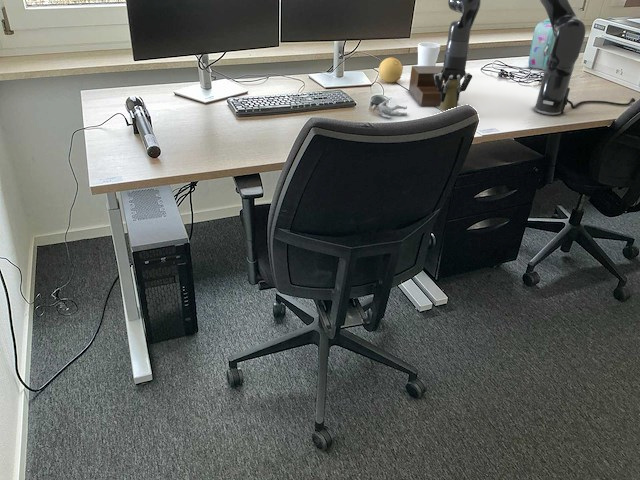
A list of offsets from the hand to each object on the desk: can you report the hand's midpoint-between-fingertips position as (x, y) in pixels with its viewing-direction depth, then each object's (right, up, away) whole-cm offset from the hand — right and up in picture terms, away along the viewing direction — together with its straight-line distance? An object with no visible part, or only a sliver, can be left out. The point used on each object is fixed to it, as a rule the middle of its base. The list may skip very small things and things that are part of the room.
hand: (448, 102), depth 194 cm
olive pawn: (0, -2, +1) cm, 2 cm away
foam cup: (0, +22, +43) cm, 48 cm away
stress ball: (-17, +17, +33) cm, 41 cm away
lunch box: (+60, +33, +64) cm, 93 cm away
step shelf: (-3, +6, +17) cm, 18 cm away
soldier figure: (-21, -5, 0) cm, 22 cm away
